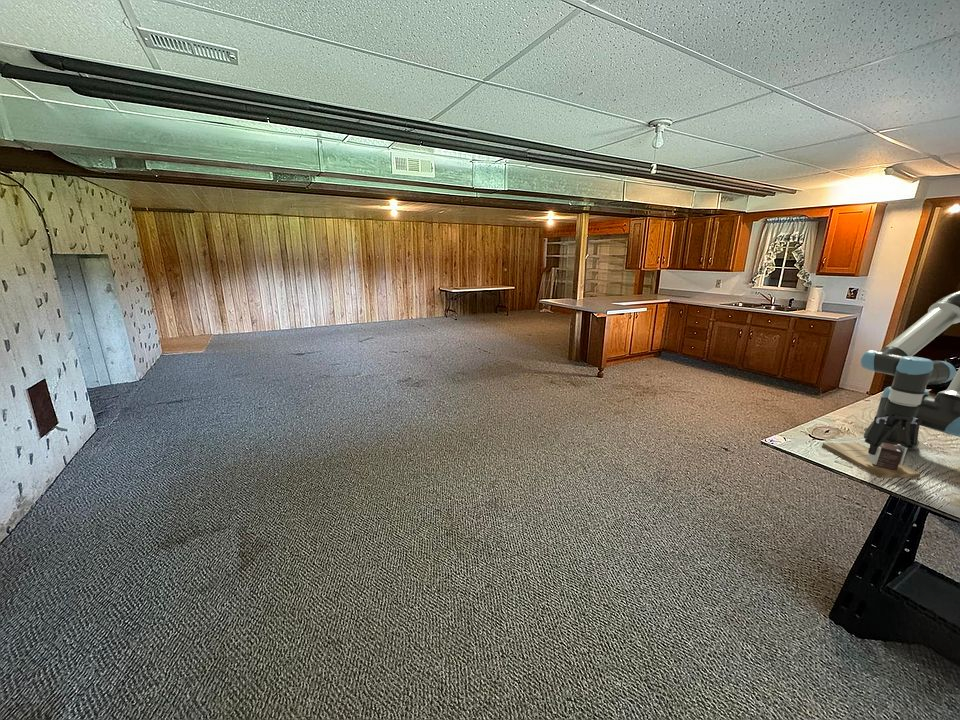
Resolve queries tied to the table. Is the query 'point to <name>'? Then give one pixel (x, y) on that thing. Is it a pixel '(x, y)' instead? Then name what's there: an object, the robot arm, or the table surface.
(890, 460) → the box
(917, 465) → the table surface
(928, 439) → the table surface
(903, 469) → the oak board
